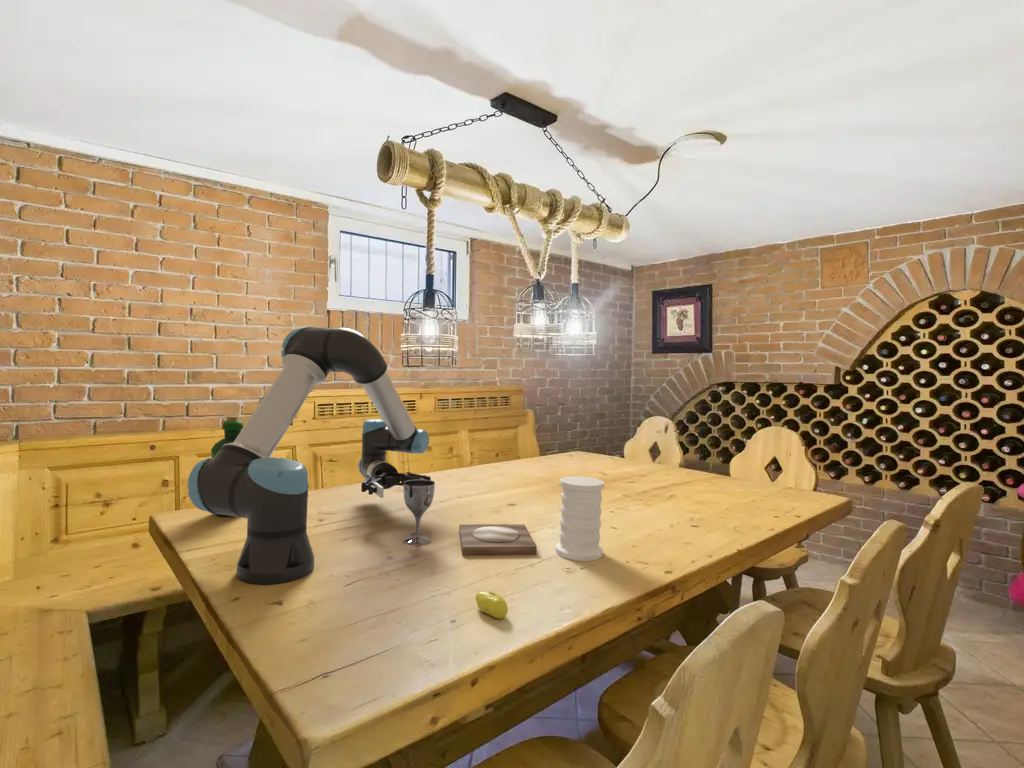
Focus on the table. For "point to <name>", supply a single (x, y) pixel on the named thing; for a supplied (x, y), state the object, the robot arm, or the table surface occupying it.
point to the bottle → (228, 437)
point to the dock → (496, 539)
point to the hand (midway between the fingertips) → (406, 490)
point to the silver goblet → (418, 504)
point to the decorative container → (580, 518)
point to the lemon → (492, 604)
